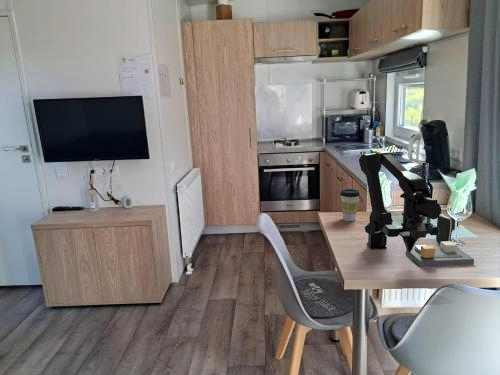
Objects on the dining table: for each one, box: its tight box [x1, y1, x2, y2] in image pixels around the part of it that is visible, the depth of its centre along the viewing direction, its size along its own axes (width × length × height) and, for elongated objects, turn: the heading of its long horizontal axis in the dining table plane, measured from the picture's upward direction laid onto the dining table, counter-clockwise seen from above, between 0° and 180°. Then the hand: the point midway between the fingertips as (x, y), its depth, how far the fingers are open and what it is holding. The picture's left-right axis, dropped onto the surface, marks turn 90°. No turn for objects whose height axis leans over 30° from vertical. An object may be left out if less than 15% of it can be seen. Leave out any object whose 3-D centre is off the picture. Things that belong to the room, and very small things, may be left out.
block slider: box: [420, 244, 435, 258], centre depth 140 cm, size 4×3×4 cm
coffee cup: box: [339, 188, 361, 222], centre depth 191 cm, size 10×10×15 cm
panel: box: [405, 246, 475, 267], centre depth 143 cm, size 20×12×2 cm, turn 91°
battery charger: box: [435, 214, 456, 242], centre depth 158 cm, size 7×4×11 cm, turn 15°
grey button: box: [414, 244, 427, 254], centre depth 146 cm, size 4×4×3 cm
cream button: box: [439, 240, 457, 253], centre depth 146 cm, size 4×4×3 cm
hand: (408, 251), depth 140 cm, fingers closed
